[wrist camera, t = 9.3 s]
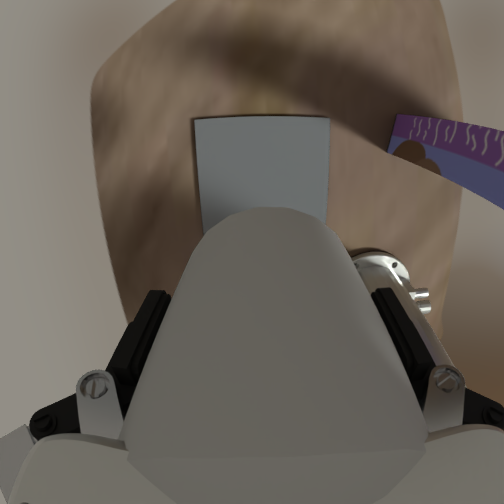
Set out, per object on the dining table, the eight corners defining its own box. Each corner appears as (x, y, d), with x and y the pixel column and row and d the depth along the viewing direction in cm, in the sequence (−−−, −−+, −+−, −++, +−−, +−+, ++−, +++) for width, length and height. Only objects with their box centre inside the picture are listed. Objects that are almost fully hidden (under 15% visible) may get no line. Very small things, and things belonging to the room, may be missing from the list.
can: (211, 339, 16) (174, 554, 5) (173, 213, 12) (6, 492, 2) (345, 324, 15) (398, 542, 4) (345, 189, 12) (540, 478, 1)
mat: (328, 117, 27) (330, 118, 27) (323, 238, 34) (324, 240, 33) (195, 119, 28) (194, 119, 27) (205, 239, 34) (204, 241, 34)
